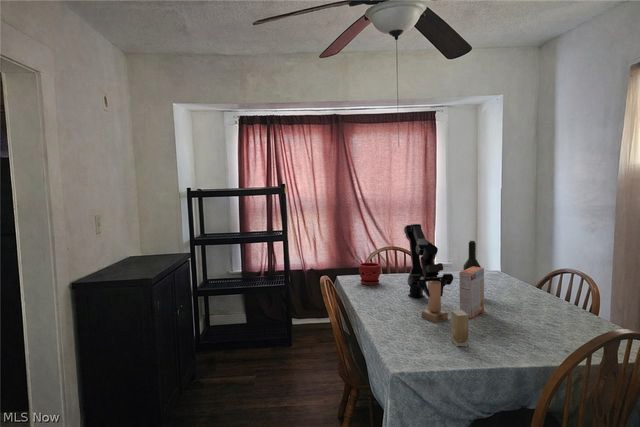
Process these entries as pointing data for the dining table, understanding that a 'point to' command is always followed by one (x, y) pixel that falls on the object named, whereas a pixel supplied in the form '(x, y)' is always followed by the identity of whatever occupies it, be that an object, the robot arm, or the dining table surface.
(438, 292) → the tan lidded canister
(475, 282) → the cracker box
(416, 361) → the dining table surface
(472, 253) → the wine bottle
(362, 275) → the plant pot
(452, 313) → the skincare box
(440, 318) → the plinth
